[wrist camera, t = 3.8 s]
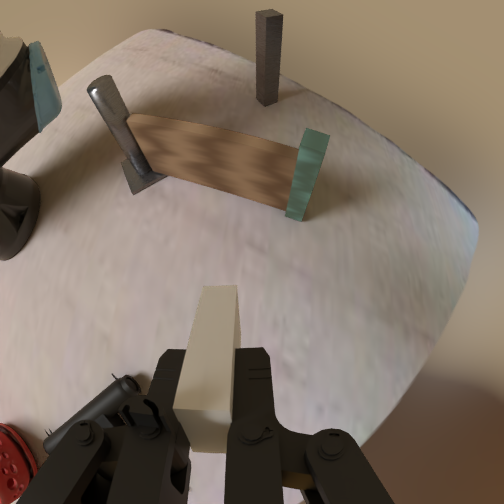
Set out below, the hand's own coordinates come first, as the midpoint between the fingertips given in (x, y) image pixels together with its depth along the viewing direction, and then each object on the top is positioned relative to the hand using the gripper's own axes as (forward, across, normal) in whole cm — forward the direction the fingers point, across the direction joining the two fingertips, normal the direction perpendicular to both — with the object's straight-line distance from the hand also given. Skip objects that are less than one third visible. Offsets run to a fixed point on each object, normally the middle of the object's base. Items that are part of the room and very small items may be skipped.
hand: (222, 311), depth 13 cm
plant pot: (-3, -38, -30) cm, 48 cm away
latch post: (+35, +5, +14) cm, 38 cm away
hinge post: (+27, -13, +5) cm, 30 cm away
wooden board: (+23, -2, +2) cm, 23 cm away
